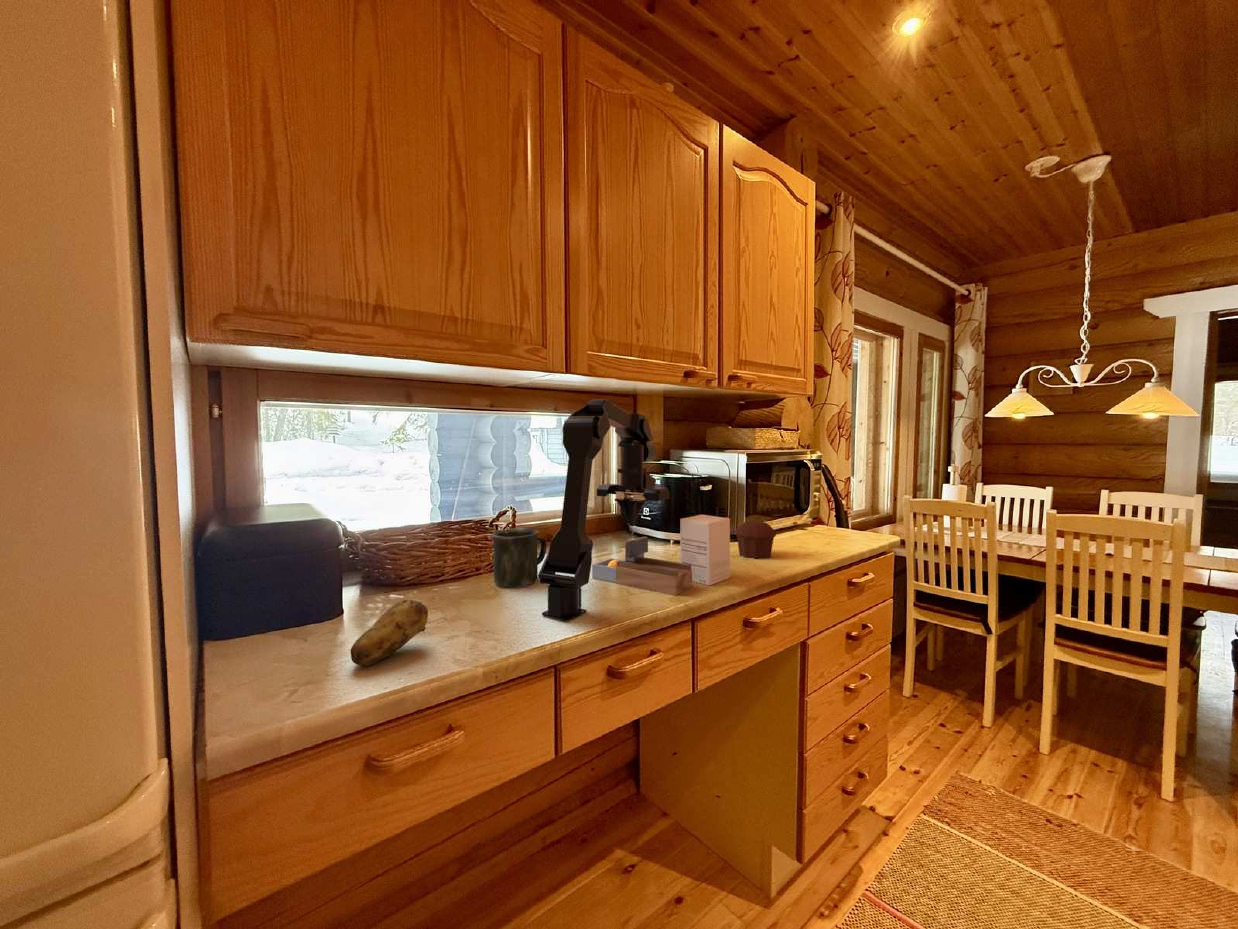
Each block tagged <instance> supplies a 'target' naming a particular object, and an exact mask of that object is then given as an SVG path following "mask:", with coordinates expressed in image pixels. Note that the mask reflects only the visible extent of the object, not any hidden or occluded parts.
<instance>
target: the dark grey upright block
mask: <svg viewBox="0 0 1238 929" xmlns="http://www.w3.org/2000/svg"><path fill="white" fill-rule="evenodd" d="M624 544H625V545H624V546H625V550H624V551H625V552H624V553H625V554H624V558H625V559H624V560H625V562H631V563H636V564H643V563H644V557H645V553H648V552H649V537H648V536H641V537H638V538H634V539H632V540H628V541H625V543H624Z"/></svg>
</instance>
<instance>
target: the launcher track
mask: <svg viewBox="0 0 1238 929" xmlns="http://www.w3.org/2000/svg"><path fill="white" fill-rule="evenodd" d="M615 584H616V585H622V586H626V585H627V586H626V587H632V588H638V589H641V590H645V591H653V592H657V593H662V594H667V595H671V596H677V595H678V594H680V593H682V592H685V591H686V590H688V589H690V588H692V587H693V582H692V569H691V565H689V564H683V563H680V562H676V561H669V560H663V559H657V558H652V557H651V558H650V557H646V556H644V563H643V564H636V563H631V562H625V561H617V566H616V583H615Z"/></svg>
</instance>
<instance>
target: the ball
mask: <svg viewBox="0 0 1238 929" xmlns="http://www.w3.org/2000/svg"><path fill="white" fill-rule="evenodd" d="M619 560H620V559H619ZM619 560H612V561H610V562H609V564H608V567H614V568H616V566H617V561H619Z"/></svg>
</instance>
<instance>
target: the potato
mask: <svg viewBox="0 0 1238 929" xmlns="http://www.w3.org/2000/svg"><path fill="white" fill-rule="evenodd" d="M428 617H429V611H428V608H427V607H426V605H424V604H423V603H422V602H420V601H417V600H415V599H403V600H400V601H397V602H395V603H394V604H392V606H391V607H389V608H388V609H387V610H386V611H385V612H383V614H382V615H380V616H379V618H378V619H377V620H376V621H375V622H374V623H373V625H371V627H370V628H369V629H367V630H366V631H365V632H363V633H362V634H361V635H360V636H359V637H358V638H357V639H356V640H355V641H354V642H353V644H352V646H351V648H350V658H351V662H352V663H354V664H355V665H358V666H361V667H368V666H371V665H374V664H375V663H377V662H379V661H380V660H382V659H385V658H387V657H388V656H392V655H393V654H395V653H396V652H397V651H399V650H401V648H403V647H404V646H405V645H406V644H407V643H408V642H409V641H410V640H412V639H413V638H414V637H415V636H416V635H418V634H420V633H421V632H425V630H426V628H427V627H426V626H427V623H428V619H429V618H428Z"/></svg>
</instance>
